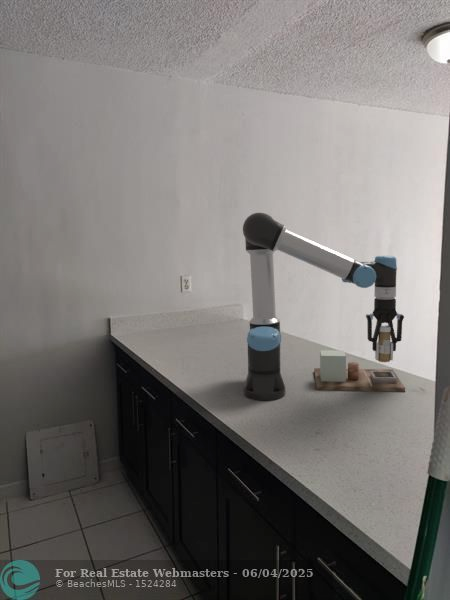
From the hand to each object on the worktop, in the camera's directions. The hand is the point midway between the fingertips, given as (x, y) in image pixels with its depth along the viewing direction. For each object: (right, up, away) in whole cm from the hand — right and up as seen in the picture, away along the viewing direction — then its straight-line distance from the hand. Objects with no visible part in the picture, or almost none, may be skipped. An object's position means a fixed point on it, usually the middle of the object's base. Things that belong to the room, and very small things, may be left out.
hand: (383, 359), depth 179 cm
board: (-9, -9, +5) cm, 14 cm away
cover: (-18, -8, +4) cm, 20 cm away
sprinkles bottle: (0, -1, 0) cm, 1 cm away
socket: (0, -8, +1) cm, 8 cm away
